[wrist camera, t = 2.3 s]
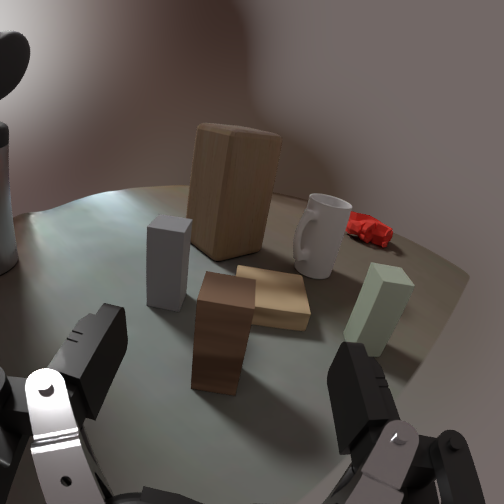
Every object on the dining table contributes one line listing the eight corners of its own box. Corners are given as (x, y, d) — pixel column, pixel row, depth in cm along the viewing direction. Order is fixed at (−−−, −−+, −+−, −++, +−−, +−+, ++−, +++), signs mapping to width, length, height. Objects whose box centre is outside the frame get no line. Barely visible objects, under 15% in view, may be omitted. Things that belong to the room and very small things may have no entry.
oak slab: (303, 333, 35) (310, 314, 34) (228, 323, 35) (232, 302, 34) (296, 293, 44) (302, 275, 42) (234, 283, 43) (237, 264, 42)
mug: (310, 257, 54) (327, 193, 49) (339, 274, 50) (360, 207, 45) (269, 268, 48) (285, 194, 43) (300, 289, 44) (322, 211, 39)
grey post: (179, 312, 35) (184, 232, 30) (146, 305, 34) (147, 226, 30) (186, 293, 38) (192, 219, 34) (156, 287, 38) (158, 214, 34)
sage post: (379, 356, 32) (414, 286, 28) (349, 355, 32) (383, 281, 28) (371, 335, 36) (401, 267, 32) (343, 333, 36) (371, 262, 32)
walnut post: (235, 395, 25) (254, 309, 21) (190, 388, 25) (197, 299, 21) (238, 364, 29) (255, 279, 24) (197, 358, 29) (206, 271, 24)
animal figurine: (344, 222, 79) (349, 204, 77) (392, 244, 70) (399, 225, 68) (321, 227, 72) (326, 207, 70) (375, 252, 62) (382, 231, 60)
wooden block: (227, 230, 59) (244, 126, 50) (262, 252, 53) (286, 135, 44) (182, 238, 52) (195, 121, 44) (215, 264, 46) (235, 129, 38)
